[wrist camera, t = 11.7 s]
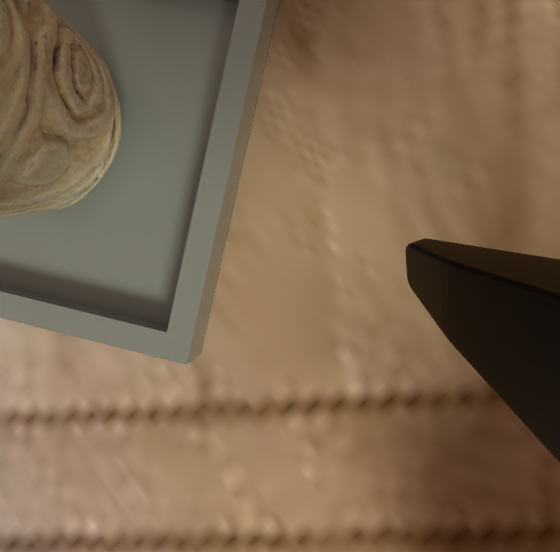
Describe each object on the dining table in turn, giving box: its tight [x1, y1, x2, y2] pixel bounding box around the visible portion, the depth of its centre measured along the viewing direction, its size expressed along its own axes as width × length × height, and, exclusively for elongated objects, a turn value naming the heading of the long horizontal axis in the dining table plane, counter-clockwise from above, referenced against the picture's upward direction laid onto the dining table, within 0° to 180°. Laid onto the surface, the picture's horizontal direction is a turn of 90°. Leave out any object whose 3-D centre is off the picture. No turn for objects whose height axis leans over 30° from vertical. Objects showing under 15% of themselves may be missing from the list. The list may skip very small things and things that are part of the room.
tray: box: [0, 0, 279, 365], centre depth 18 cm, size 15×15×2 cm
